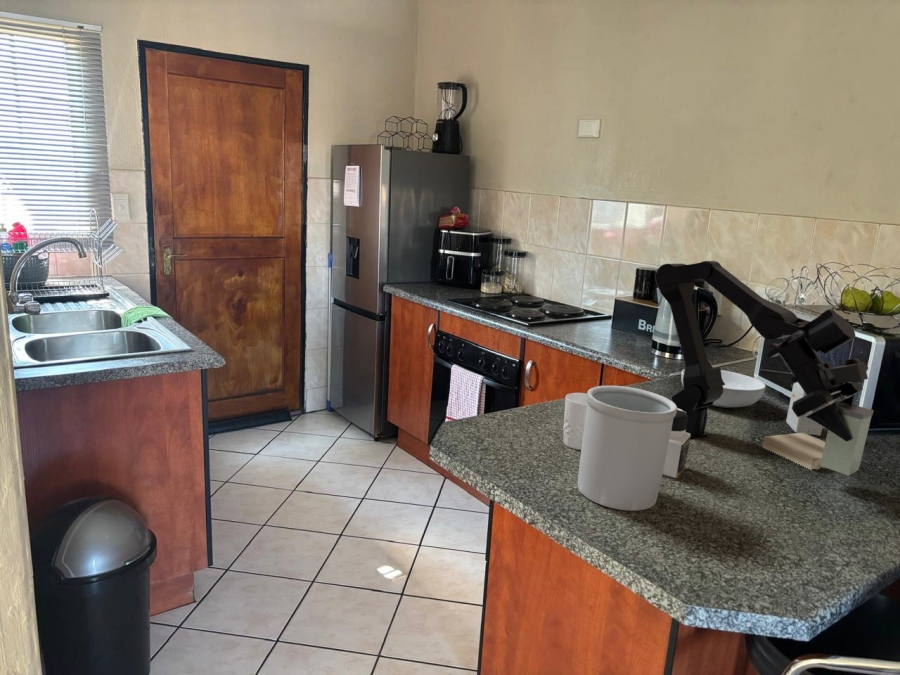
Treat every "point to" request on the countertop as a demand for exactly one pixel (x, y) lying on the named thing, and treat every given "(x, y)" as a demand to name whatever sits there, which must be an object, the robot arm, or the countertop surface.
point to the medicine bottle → (677, 446)
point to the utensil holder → (624, 446)
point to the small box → (802, 422)
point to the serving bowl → (738, 390)
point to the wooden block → (797, 448)
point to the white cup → (574, 419)
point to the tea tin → (843, 452)
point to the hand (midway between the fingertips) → (854, 437)
